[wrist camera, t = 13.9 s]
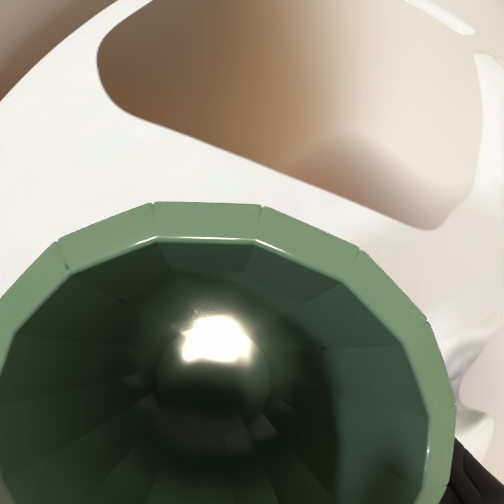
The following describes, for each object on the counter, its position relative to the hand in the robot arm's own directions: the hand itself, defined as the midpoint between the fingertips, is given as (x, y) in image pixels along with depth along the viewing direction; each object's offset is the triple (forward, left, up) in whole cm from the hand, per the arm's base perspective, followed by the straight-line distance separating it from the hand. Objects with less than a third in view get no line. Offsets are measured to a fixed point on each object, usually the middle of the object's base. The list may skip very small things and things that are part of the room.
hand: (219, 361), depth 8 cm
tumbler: (-1, 0, -8) cm, 8 cm away
